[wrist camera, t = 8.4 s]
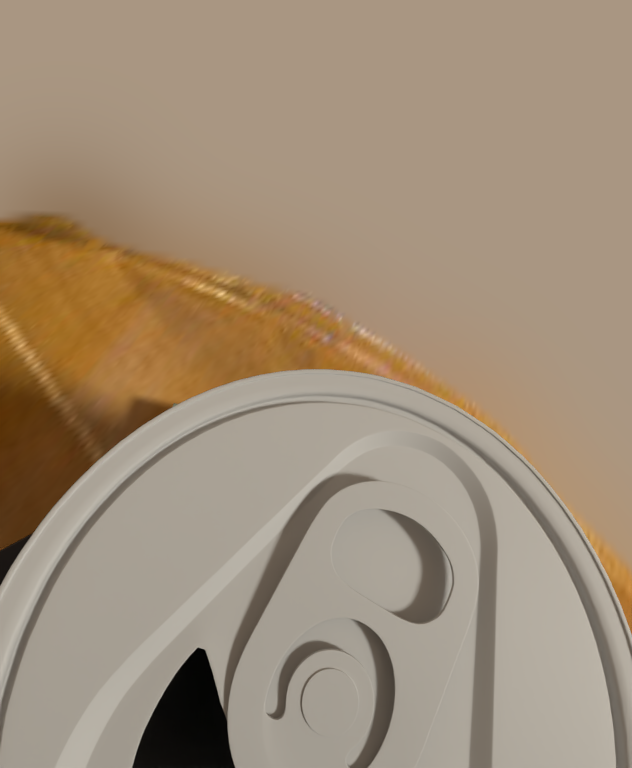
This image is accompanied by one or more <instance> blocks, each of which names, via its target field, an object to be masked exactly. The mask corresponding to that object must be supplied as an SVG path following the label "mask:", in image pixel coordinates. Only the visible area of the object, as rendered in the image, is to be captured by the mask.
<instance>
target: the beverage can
mask: <svg viewBox="0 0 632 768" xmlns="http://www.w3.org/2000/svg"><path fill="white" fill-rule="evenodd" d="M0 768H632V634H631V632H630V629H629V626H628V623H627V621H626V618H625V615H624V612H623V610H622V607H621V605H620V602H619V600H618V598H617V596H616V593H615V591H614V589H613V586H612V584H611V582H610V580H609V577H608V575H607V574H606V572H605V570H604V568H603V566H602V564H601V562H600V560H599V558H598V556H597V554H596V552H595V551H594V549H593V547H592V545H591V544H590V542H589V540H588V539H587V537H586V535H585V534H584V532H583V530H582V529H581V527H580V526H579V524H578V523H577V521H576V520H575V518H574V517H573V516H572V514H571V513H570V511H569V510H568V508H567V507H566V505H565V504H564V503H563V502H562V500H561V499H560V498H559V496H558V495H557V494H556V493H555V491H554V490H553V489H552V488H551V486H550V485H549V484H548V483H547V482H546V480H545V479H544V478H543V477H542V476H541V475H540V474H539V472H538V471H537V470H536V469H535V468H534V467H533V466H532V465H531V464H530V463H529V462H528V461H527V460H526V459H525V458H524V457H523V456H522V455H521V454H520V453H519V452H518V451H517V450H515V449H514V448H513V447H512V446H511V445H510V444H509V443H508V442H507V441H505V440H504V439H503V438H502V437H501V436H499V435H498V434H497V433H496V432H494V431H493V430H492V429H490V428H489V427H488V426H486V425H485V424H483V423H482V422H480V421H479V420H477V419H476V418H474V417H473V416H471V415H470V414H468V413H467V412H465V411H464V410H462V409H460V408H459V407H457V406H455V405H453V404H451V403H449V402H447V401H445V400H443V399H441V398H439V397H437V396H435V395H433V394H431V393H428V392H426V391H424V390H422V389H419V388H417V387H414V386H411V385H408V384H405V383H402V382H398V381H395V380H392V379H388V378H385V377H381V376H376V375H372V374H366V373H359V372H352V371H341V370H329V369H305V370H292V371H281V372H275V373H269V374H263V375H258V376H254V377H250V378H245V379H241V380H237V381H234V382H231V383H228V384H225V385H222V386H219V387H216V388H213V389H211V390H208V391H206V392H204V393H201V394H199V395H197V396H194V397H192V398H189V399H187V400H186V401H184V402H182V403H180V404H178V405H176V406H174V407H172V408H170V409H168V410H166V411H165V412H163V413H161V414H160V415H158V416H157V417H155V418H153V419H152V420H150V421H148V422H147V423H145V424H144V425H142V426H141V427H139V428H138V429H137V430H135V431H134V432H132V433H131V434H130V435H128V436H127V437H126V438H124V439H123V440H122V441H120V442H119V443H118V444H117V445H115V446H114V447H113V448H112V449H111V450H109V451H108V452H107V453H106V454H105V455H104V456H102V457H101V458H100V459H99V460H98V461H97V462H95V463H94V464H93V465H92V466H91V467H90V468H89V469H88V470H87V471H86V472H85V473H84V474H83V475H82V476H81V477H80V478H79V479H78V480H77V481H76V482H75V483H74V484H73V485H72V486H71V488H70V489H69V490H68V491H67V492H66V493H65V494H64V495H63V496H62V498H61V499H60V500H59V501H58V502H57V503H56V504H55V505H54V507H53V508H52V509H51V510H50V512H49V513H48V514H47V515H46V517H45V518H44V519H43V520H42V522H41V523H40V524H39V526H38V527H37V529H36V530H35V531H34V533H33V534H32V536H31V537H30V539H29V540H28V541H27V543H26V544H25V546H24V547H23V549H22V550H21V551H20V553H19V554H18V556H17V558H16V559H15V561H14V563H13V564H12V566H11V567H10V569H9V571H8V572H7V574H6V576H5V578H4V580H3V582H2V584H1V585H0Z"/></svg>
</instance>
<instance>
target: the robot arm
mask: <svg viewBox="0 0 632 768" xmlns="http://www.w3.org/2000/svg"><path fill="white" fill-rule="evenodd" d="M32 534H33V533H32ZM32 534H30V535H28V536H26V537H25V538H23V539H21V540H19V541H17V542H15V543H13V544H12V545H10V546H8V547H6V548H4V549H2V550H0V585H1V584H2V582H3V580H4V578H5V576H6V574H7V572H8V571H9V569H10V567H11V566H12V564H13V563H14V561H15V559H16V558H17V556H18V554H19V553H20V551H21V550H22V549H23V547H24V546H25V544H26V543H27V541H28V540H29V539H30V537H31V536H32Z"/></svg>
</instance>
